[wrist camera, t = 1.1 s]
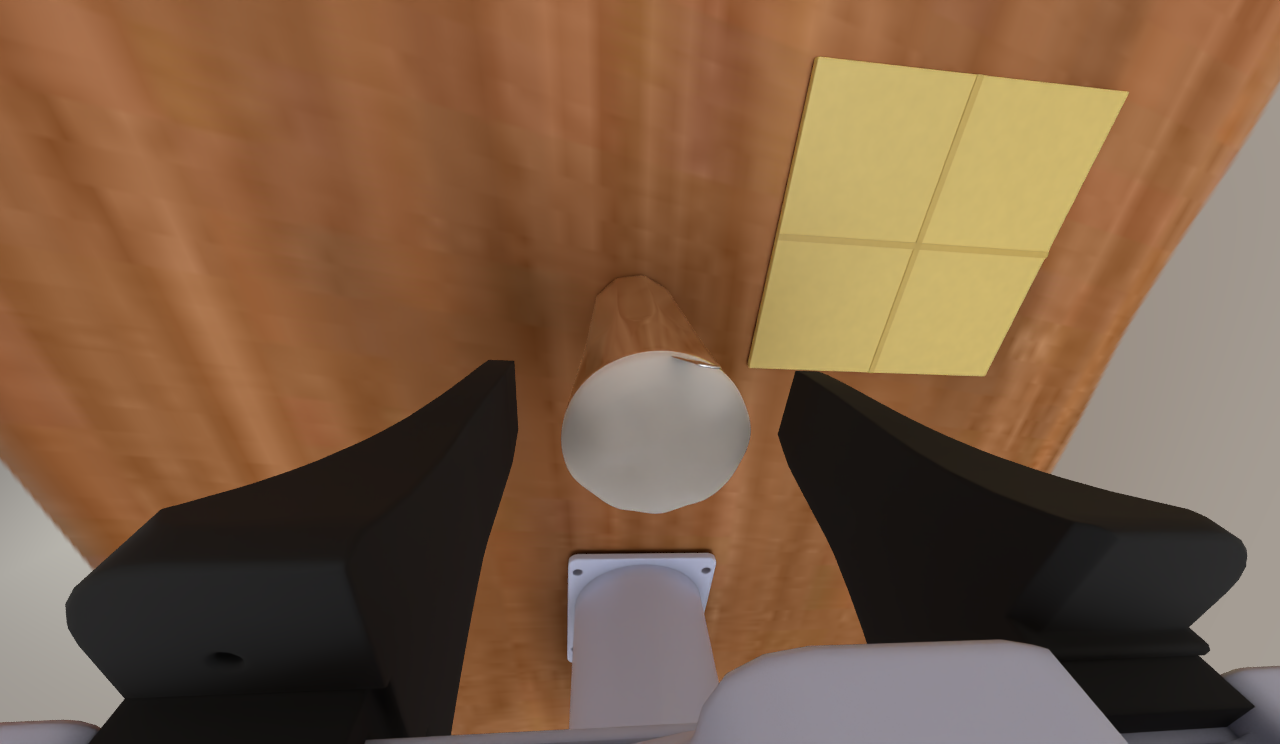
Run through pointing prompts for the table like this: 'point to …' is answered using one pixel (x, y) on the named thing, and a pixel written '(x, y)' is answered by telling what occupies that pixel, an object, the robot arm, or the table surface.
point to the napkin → (920, 215)
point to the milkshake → (650, 406)
